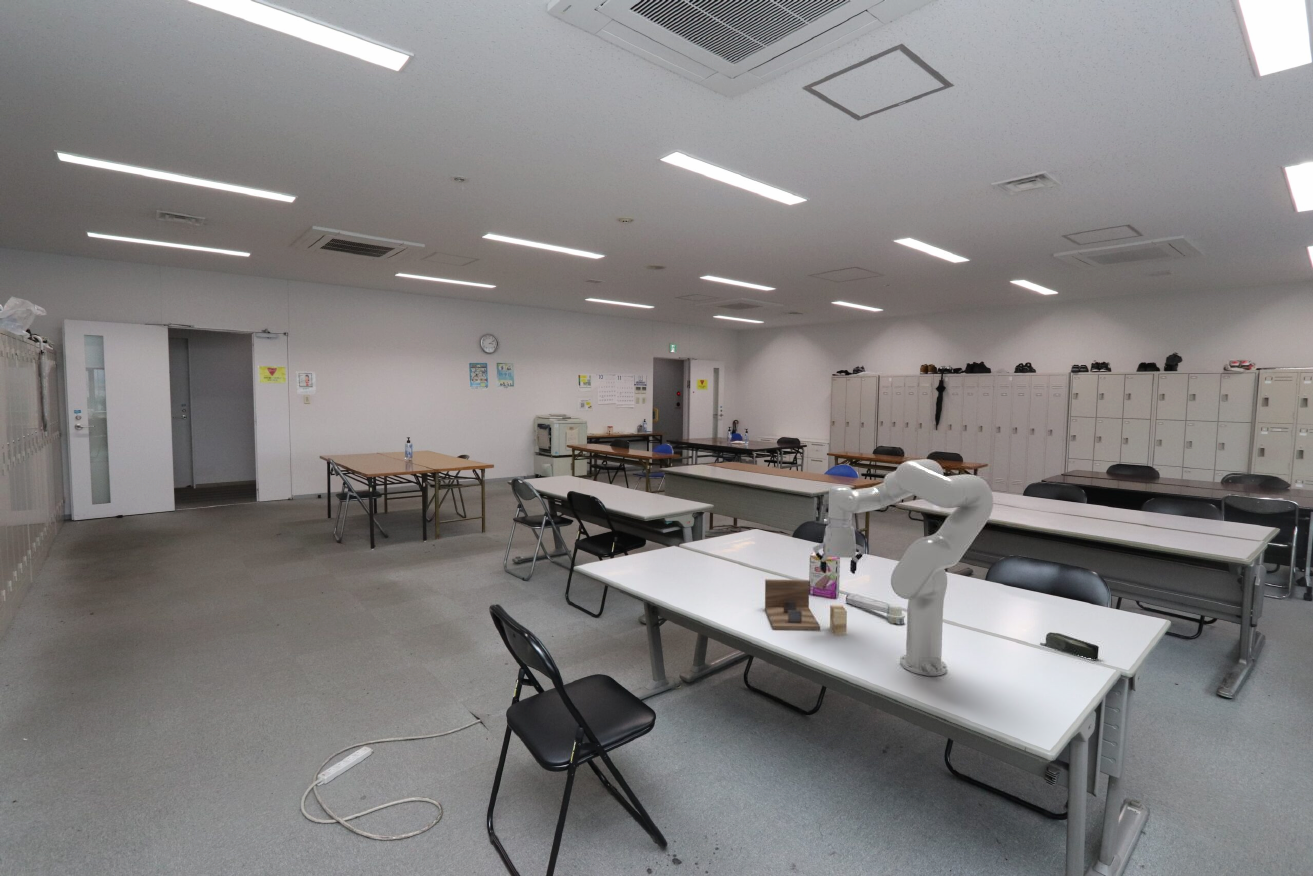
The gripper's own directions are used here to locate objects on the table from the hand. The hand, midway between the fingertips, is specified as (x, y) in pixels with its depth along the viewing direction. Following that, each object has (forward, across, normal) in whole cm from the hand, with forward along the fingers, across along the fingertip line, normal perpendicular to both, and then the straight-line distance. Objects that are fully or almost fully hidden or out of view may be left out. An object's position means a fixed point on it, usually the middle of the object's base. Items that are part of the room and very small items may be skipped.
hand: (838, 572), depth 198 cm
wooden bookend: (+20, -14, +9) cm, 26 cm away
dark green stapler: (+20, +68, -15) cm, 72 cm away
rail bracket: (+20, 0, -1) cm, 20 cm away
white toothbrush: (+21, +18, +16) cm, 32 cm away
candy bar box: (+21, +4, +35) cm, 41 cm away
